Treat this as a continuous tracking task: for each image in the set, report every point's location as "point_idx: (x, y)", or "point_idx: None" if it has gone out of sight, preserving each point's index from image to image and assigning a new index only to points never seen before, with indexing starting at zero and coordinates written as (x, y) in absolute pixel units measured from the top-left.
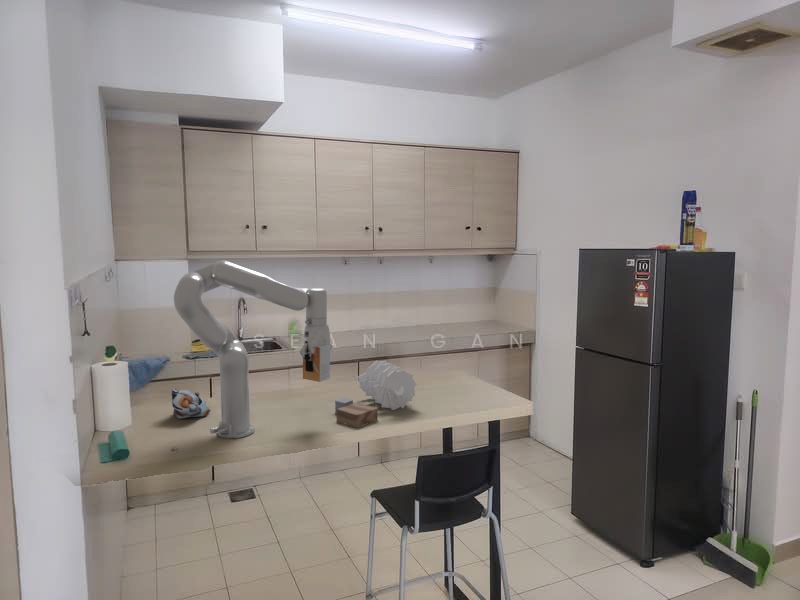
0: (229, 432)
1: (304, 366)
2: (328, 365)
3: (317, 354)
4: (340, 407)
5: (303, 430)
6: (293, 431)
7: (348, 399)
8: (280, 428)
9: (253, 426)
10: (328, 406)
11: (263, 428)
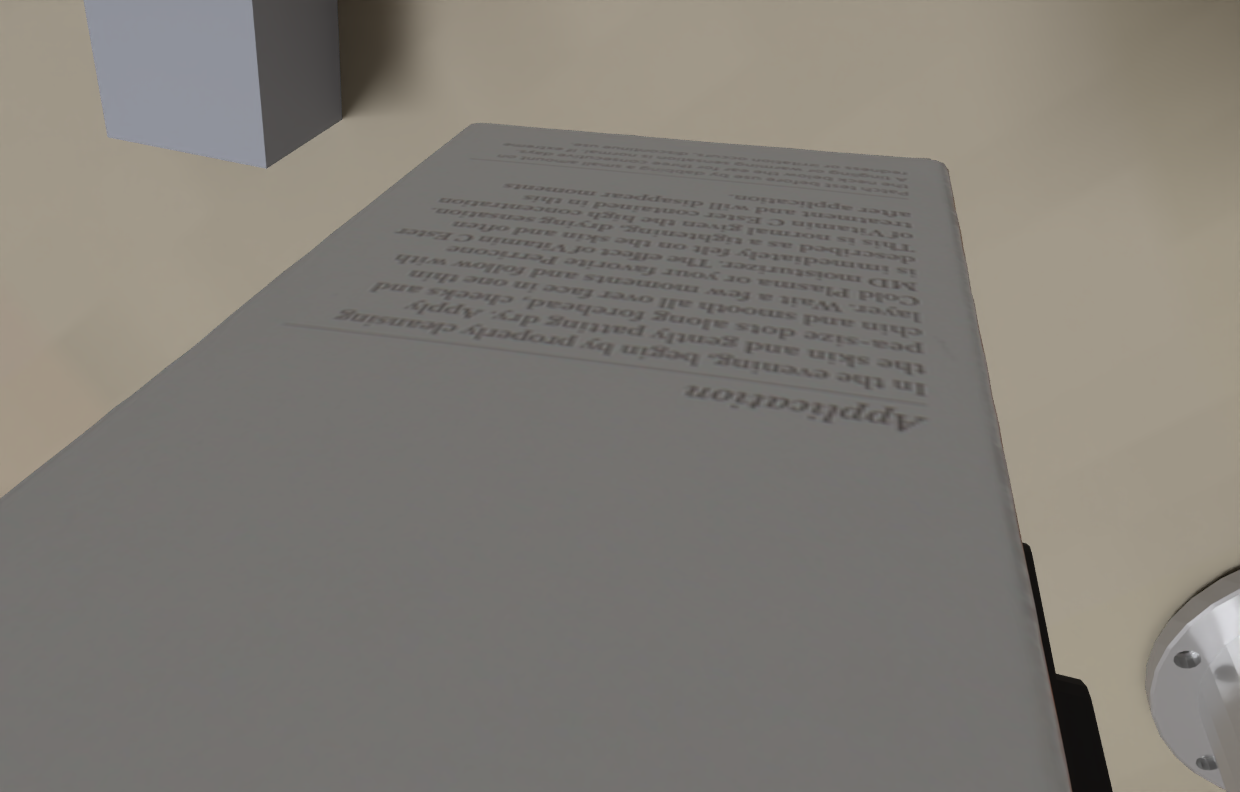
0: None
1: None
2: (374, 283)
3: None
4: (297, 52)
5: (1066, 104)
6: (1141, 195)
7: (104, 34)
8: (1085, 378)
9: (1220, 605)
10: (240, 303)
11: (1141, 522)
